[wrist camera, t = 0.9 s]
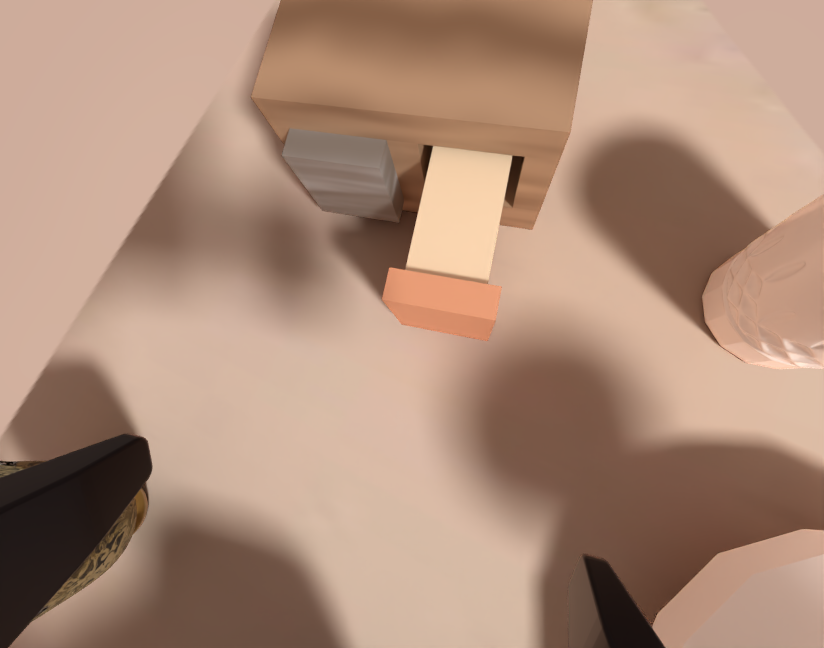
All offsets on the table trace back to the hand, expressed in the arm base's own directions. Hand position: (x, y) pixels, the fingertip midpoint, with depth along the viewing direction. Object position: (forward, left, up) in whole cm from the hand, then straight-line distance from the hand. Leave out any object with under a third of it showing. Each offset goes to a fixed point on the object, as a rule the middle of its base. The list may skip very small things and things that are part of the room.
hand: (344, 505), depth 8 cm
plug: (+8, +7, -15) cm, 19 cm away
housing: (+12, +14, -16) cm, 24 cm away
